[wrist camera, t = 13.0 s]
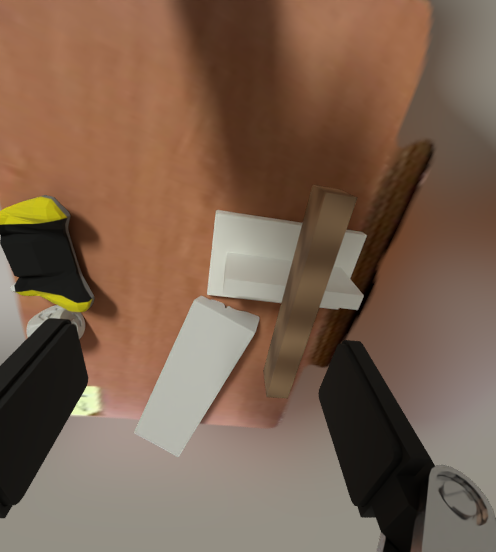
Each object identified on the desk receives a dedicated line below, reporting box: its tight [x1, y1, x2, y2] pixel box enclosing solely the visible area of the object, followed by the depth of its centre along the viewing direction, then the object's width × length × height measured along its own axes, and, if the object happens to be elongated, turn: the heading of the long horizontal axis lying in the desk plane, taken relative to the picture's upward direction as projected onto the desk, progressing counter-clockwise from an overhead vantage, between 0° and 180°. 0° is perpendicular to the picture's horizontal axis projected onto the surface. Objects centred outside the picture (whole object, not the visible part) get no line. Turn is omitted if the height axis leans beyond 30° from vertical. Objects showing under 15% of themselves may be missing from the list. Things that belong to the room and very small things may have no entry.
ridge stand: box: [207, 210, 367, 310], centre depth 33 cm, size 12×20×9 cm, turn 81°
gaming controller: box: [0, 195, 95, 312], centre depth 33 cm, size 15×6×10 cm
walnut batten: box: [263, 185, 357, 399], centre depth 28 cm, size 24×3×4 cm, turn 171°
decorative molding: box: [134, 296, 259, 457], centre depth 47 cm, size 34×5×10 cm
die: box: [27, 305, 85, 339], centre depth 38 cm, size 5×5×5 cm
